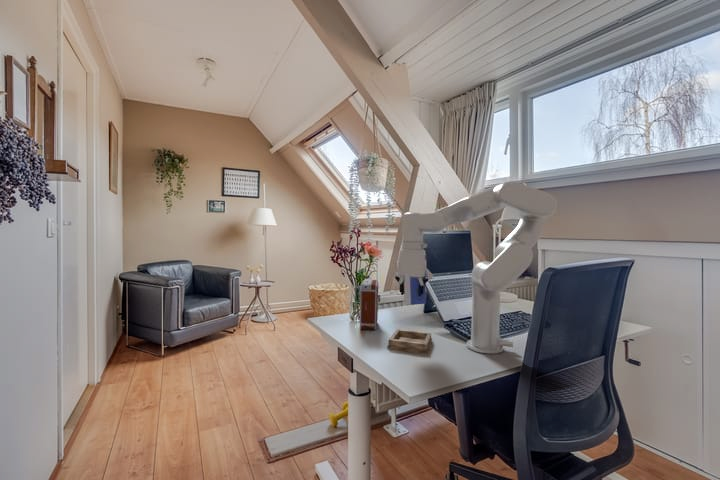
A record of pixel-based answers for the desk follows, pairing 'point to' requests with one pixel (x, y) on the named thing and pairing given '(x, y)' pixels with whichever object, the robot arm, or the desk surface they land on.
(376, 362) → the desk surface
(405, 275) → the walkman
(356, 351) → the desk surface
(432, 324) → the desk surface
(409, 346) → the wooden tray
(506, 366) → the desk surface
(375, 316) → the cine camera
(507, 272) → the robot arm
